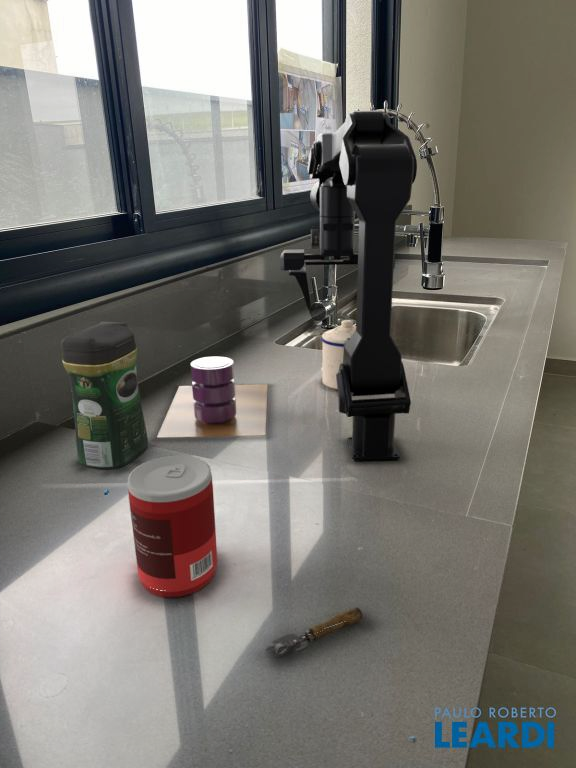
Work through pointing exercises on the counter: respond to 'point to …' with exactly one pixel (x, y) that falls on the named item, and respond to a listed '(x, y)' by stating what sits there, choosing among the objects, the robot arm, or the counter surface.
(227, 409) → the plum dish bottom
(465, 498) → the counter surface
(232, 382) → the purple puck
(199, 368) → the purple hockey puck
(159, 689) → the counter surface
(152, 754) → the counter surface
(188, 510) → the canned food
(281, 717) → the counter surface
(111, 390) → the coffee jar
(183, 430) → the placemat
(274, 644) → the can opener
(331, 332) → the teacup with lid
